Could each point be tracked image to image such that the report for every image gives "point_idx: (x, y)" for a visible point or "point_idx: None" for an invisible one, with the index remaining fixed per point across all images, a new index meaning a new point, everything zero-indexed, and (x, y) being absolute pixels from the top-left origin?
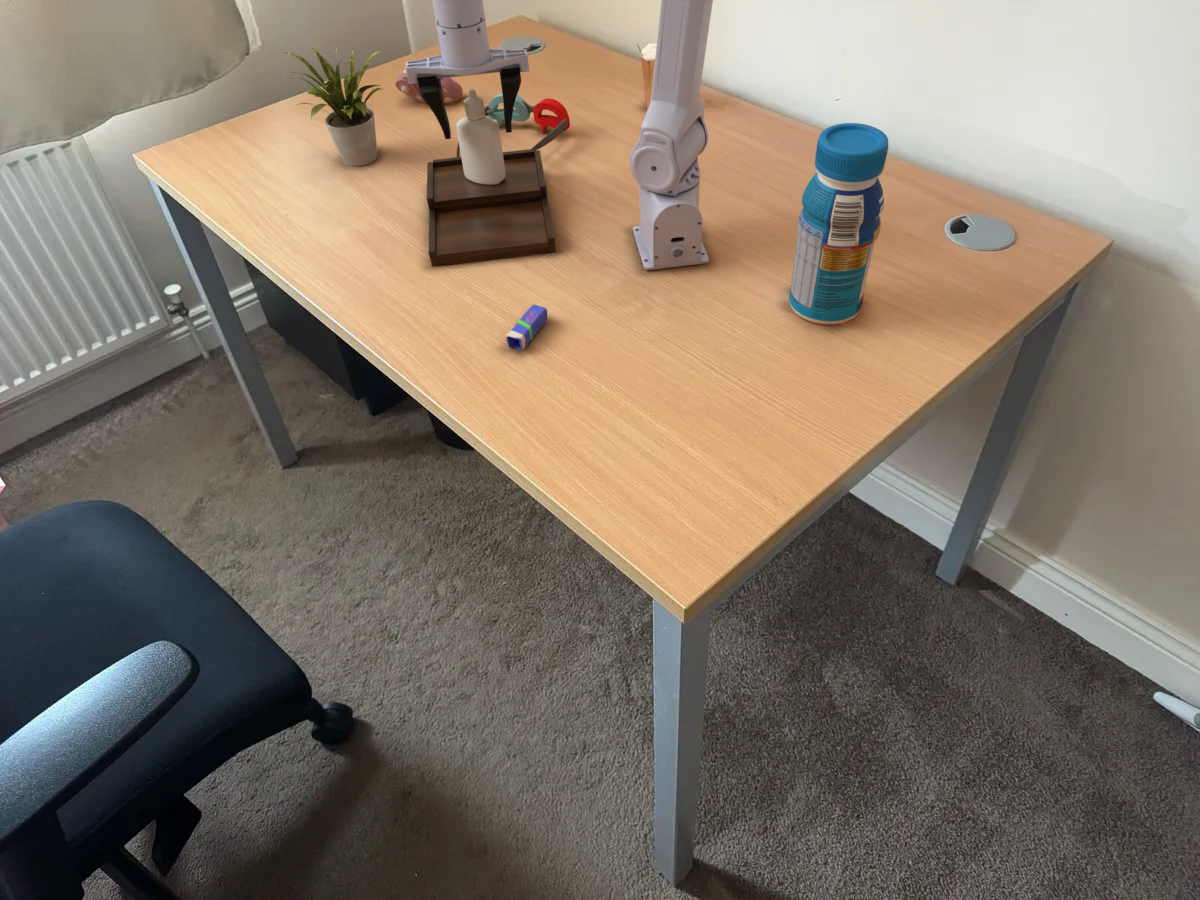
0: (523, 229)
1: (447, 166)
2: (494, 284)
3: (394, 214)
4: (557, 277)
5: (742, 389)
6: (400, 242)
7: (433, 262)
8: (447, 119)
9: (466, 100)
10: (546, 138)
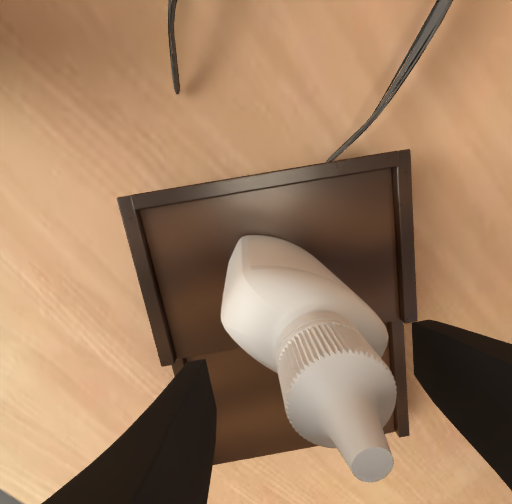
0: None
1: (173, 206)
2: (305, 483)
3: (90, 300)
4: (393, 467)
5: None
6: (131, 387)
7: None
8: (198, 419)
9: (305, 421)
10: (423, 51)
